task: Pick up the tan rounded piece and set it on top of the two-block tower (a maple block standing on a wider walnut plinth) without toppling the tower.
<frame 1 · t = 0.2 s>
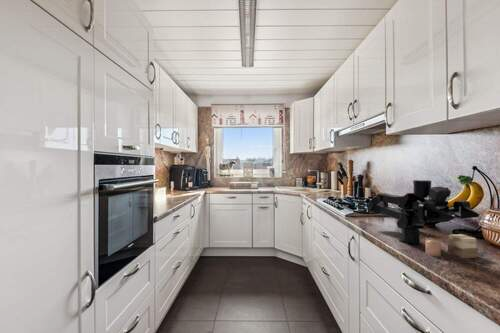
hand: (465, 216, 83), 16 cm above the countertop, tool horizontal, fingers open, 9 cm apart
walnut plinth: (462, 255, 93), on the countertop, touching maple block
box: (410, 230, 127), on the countertop
tan rounded piece: (433, 254, 94), on the countertop
maple block: (462, 245, 93), point 3 cm above the countertop, touching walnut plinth
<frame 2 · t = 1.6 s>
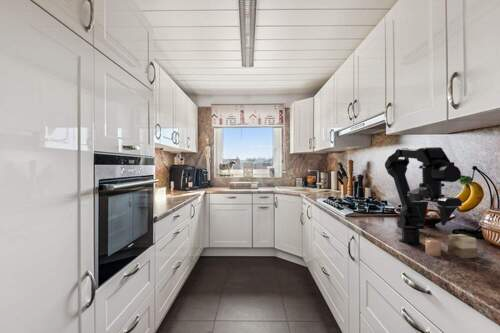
hand: (432, 222, 94), 12 cm above the countertop, tool pointing down, fingers open, 9 cm apart
nothing on the countertop moved.
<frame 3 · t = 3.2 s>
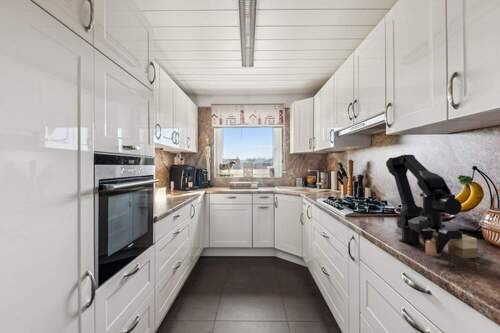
hand: (432, 251, 94), 1 cm above the countertop, tool pointing down, fingers closed on tan rounded piece, 5 cm apart
tan rounded piece: (432, 254, 94), on the countertop, touching gripper
everything else where it was.
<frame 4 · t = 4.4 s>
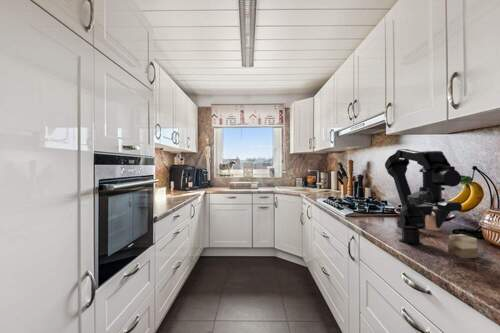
hand: (432, 226, 94), 11 cm above the countertop, tool pointing down, fingers closed on tan rounded piece, 5 cm apart
tan rounded piece: (432, 229, 94), point 9 cm above the countertop, touching gripper
everything else where it was.
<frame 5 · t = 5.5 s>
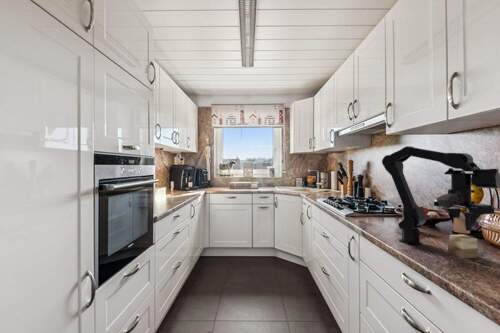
hand: (461, 228, 93), 10 cm above the countertop, tool pointing down, fingers closed on tan rounded piece, 5 cm apart
tan rounded piece: (461, 231, 93), point 9 cm above the countertop, touching gripper
everything else where it was.
when the fingers open (9 cm above the countertop, at t = 5.8 s): tan rounded piece drops 1 cm, resting on maple block.
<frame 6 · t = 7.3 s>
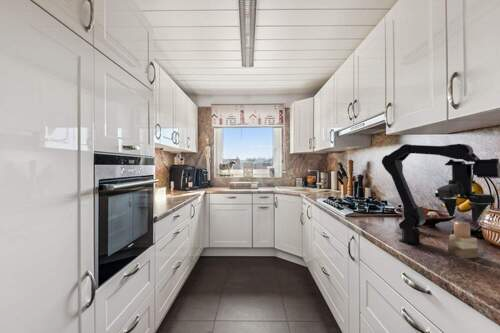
hand: (462, 219, 94), 13 cm above the countertop, tool pointing down, fingers open, 9 cm apart
tan rounded piece: (461, 236, 93), point 7 cm above the countertop, touching maple block
maple block: (463, 246, 93), point 3 cm above the countertop, touching tan rounded piece, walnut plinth
everything else where it was.
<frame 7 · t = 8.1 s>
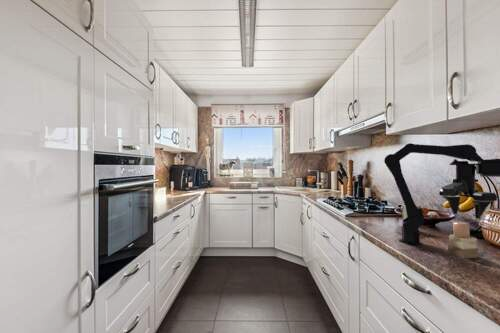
hand: (465, 216, 99), 13 cm above the countertop, tool pointing down, fingers open, 9 cm apart
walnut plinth: (462, 255, 93), on the countertop
maple block: (462, 246, 93), point 3 cm above the countertop, touching tan rounded piece
everything else where it was.
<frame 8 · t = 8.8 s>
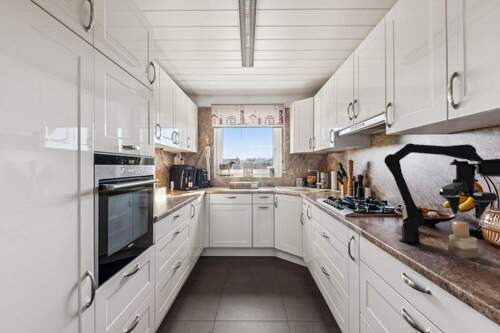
hand: (465, 216, 99), 13 cm above the countertop, tool pointing down, fingers open, 9 cm apart
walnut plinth: (462, 255, 93), on the countertop, touching maple block
maple block: (462, 246, 93), point 3 cm above the countertop, touching tan rounded piece, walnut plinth
everything else where it was.
at the end: tan rounded piece 0.4 cm off-centre on the maple block, point 3.5 cm above the maple block's base; tan rounded piece tilted 0°; maple block moved 0.5 cm from its start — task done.
